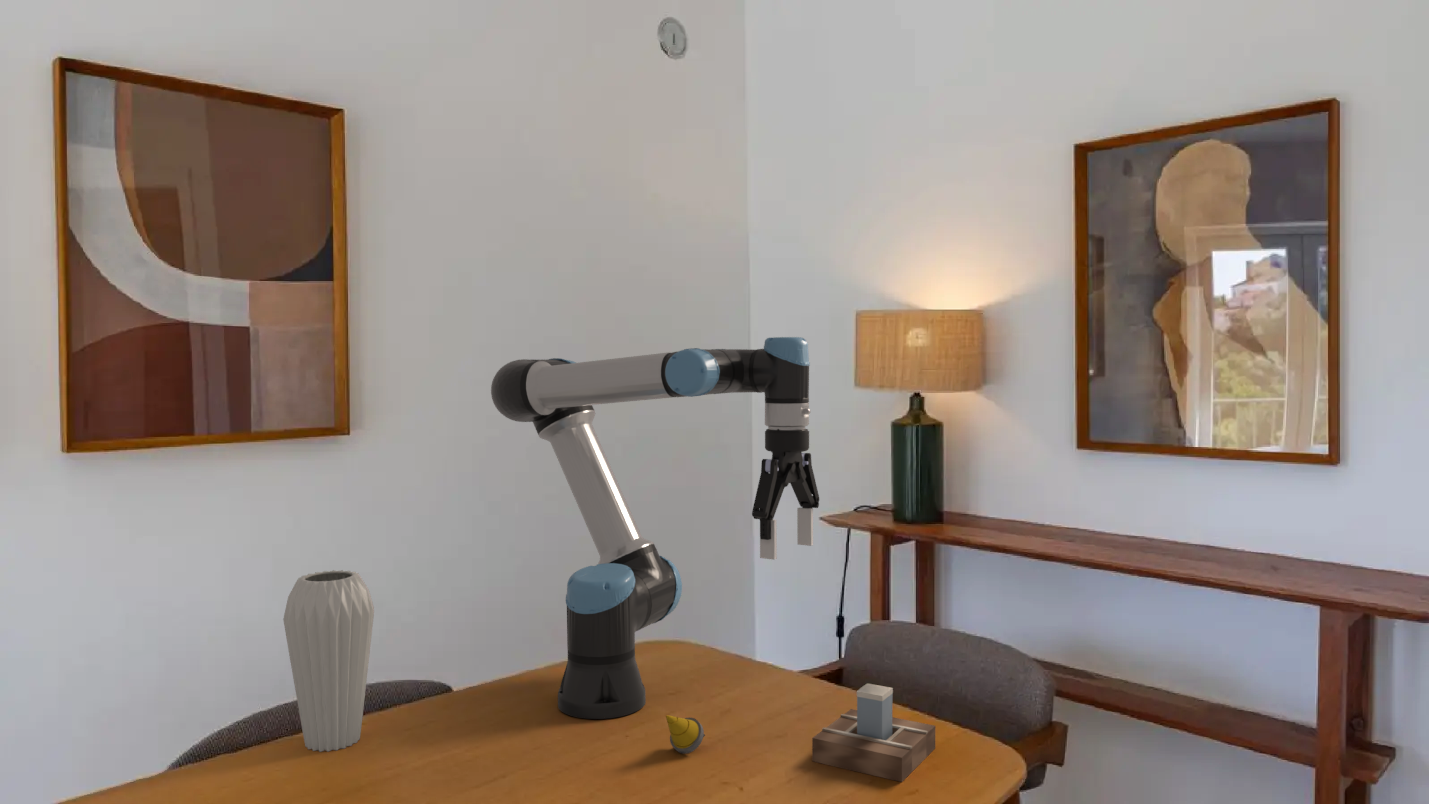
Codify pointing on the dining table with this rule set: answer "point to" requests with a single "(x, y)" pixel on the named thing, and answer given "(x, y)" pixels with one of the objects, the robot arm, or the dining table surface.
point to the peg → (874, 711)
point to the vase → (329, 655)
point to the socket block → (874, 747)
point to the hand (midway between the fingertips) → (787, 551)
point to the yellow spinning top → (685, 733)
